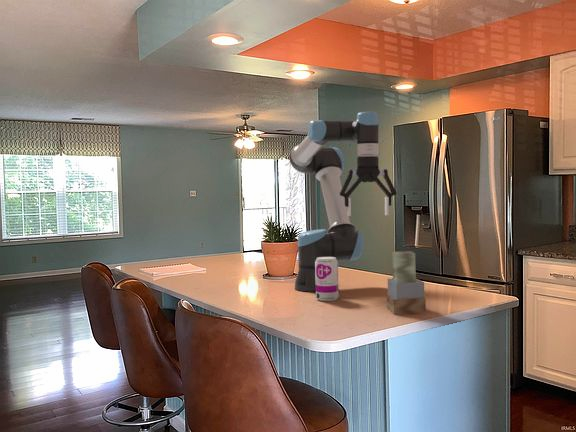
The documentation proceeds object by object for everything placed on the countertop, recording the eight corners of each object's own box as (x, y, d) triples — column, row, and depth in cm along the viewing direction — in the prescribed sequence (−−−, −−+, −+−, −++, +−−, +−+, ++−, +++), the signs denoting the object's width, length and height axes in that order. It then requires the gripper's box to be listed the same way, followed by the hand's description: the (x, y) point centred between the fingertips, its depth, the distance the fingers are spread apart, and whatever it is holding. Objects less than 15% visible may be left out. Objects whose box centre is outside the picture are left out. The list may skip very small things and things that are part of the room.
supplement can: (332, 302, 182) (331, 259, 181) (311, 300, 186) (310, 258, 185) (342, 298, 189) (341, 257, 188) (322, 296, 193) (321, 256, 192)
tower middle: (396, 299, 162) (396, 283, 161) (387, 293, 171) (387, 278, 170) (424, 298, 163) (424, 282, 162) (414, 292, 172) (414, 277, 171)
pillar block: (396, 282, 164) (396, 253, 163) (392, 279, 170) (392, 251, 169) (415, 281, 163) (415, 253, 163) (411, 278, 169) (410, 251, 169)
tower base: (393, 315, 162) (393, 299, 161) (387, 308, 172) (386, 293, 171) (425, 314, 162) (425, 298, 162) (417, 307, 172) (416, 292, 172)
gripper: (334, 156, 181) (335, 216, 183) (405, 155, 182) (405, 215, 184) (331, 156, 188) (332, 215, 190) (399, 155, 190) (399, 213, 191)
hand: (368, 215), depth 187 cm, fingers open, 13 cm apart
